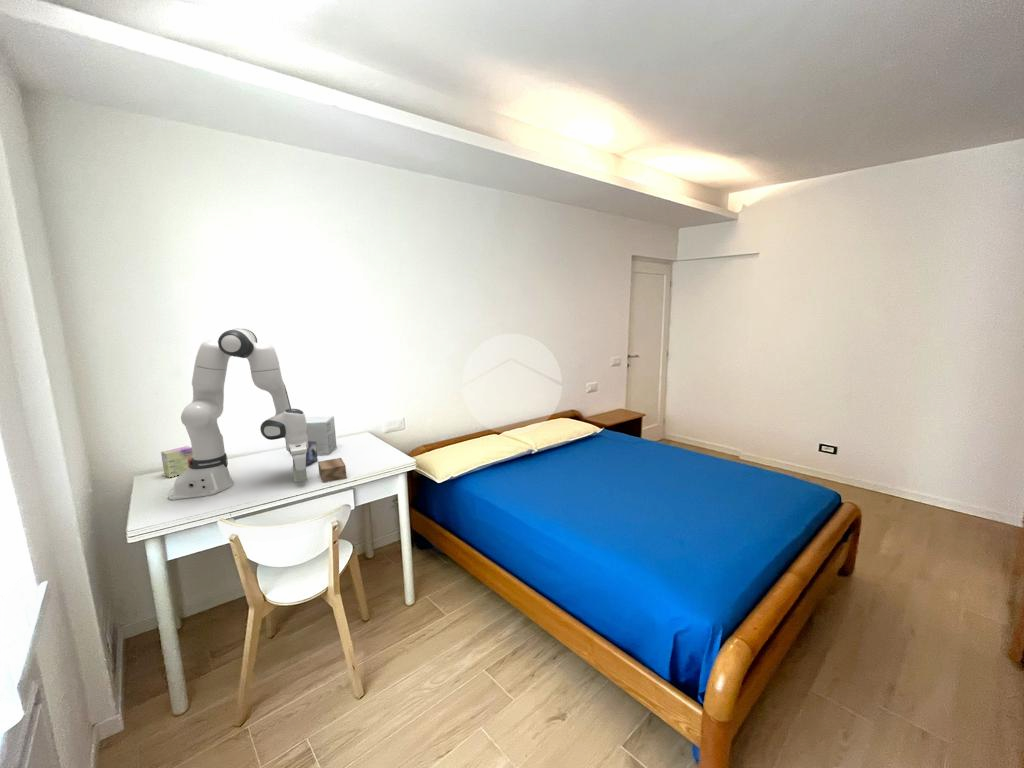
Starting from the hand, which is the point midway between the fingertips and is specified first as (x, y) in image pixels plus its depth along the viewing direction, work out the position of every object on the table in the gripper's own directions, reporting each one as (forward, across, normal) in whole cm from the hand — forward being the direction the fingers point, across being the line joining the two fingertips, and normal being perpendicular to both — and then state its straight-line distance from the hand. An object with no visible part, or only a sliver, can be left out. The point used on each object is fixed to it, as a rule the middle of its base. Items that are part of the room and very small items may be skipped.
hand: (300, 474), depth 190 cm
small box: (+3, -20, +4) cm, 21 cm away
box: (+3, -38, -48) cm, 61 cm away
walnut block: (+2, +4, +13) cm, 14 cm away
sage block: (+2, 0, 0) cm, 2 cm away
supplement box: (+3, -38, +11) cm, 40 cm away
